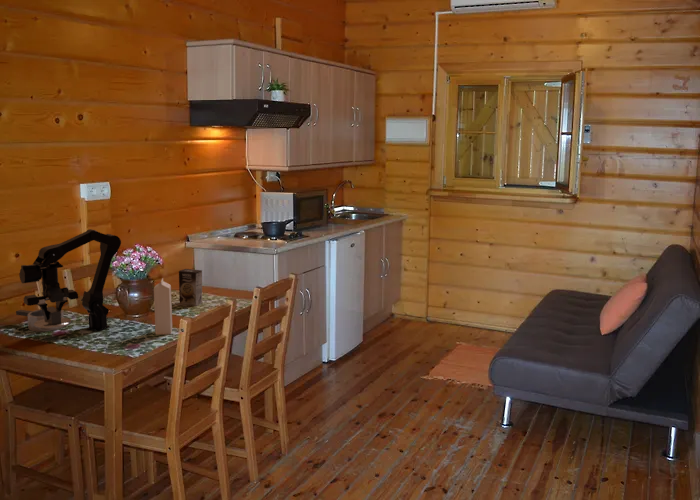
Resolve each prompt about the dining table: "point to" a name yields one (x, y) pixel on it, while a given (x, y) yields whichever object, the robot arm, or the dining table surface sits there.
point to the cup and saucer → (52, 320)
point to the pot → (34, 318)
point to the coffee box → (190, 287)
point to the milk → (163, 308)
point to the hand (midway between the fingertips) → (52, 318)
